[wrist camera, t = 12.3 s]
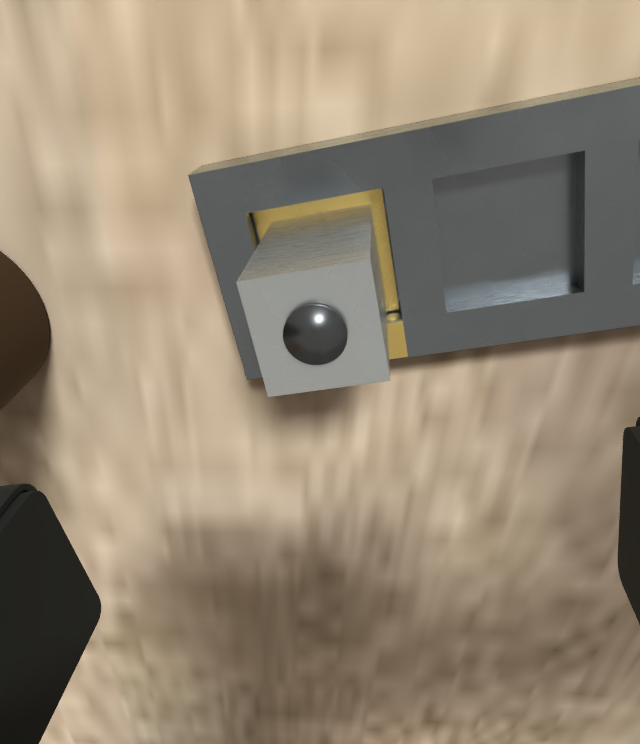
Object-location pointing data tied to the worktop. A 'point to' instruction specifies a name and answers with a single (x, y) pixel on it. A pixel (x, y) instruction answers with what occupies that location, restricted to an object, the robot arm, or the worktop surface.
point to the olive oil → (19, 330)
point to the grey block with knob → (318, 303)
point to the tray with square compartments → (462, 218)
